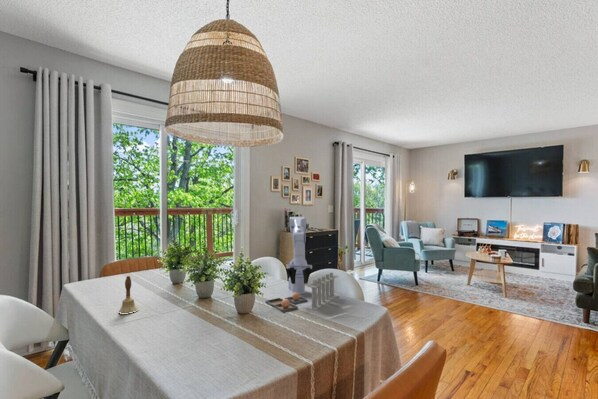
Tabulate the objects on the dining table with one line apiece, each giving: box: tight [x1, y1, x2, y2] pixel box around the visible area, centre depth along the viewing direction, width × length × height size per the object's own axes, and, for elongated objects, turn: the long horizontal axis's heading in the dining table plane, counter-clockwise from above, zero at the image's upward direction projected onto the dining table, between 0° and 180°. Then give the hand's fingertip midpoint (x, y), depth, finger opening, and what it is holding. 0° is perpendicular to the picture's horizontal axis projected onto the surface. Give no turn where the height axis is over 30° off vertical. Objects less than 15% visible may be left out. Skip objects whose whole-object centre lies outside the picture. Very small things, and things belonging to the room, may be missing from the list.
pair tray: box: [265, 297, 299, 313], centre depth 147 cm, size 16×8×2 cm, turn 35°
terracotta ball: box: [291, 292, 301, 301], centre depth 155 cm, size 4×4×4 cm
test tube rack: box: [307, 272, 339, 311], centre depth 153 cm, size 25×4×13 cm, turn 149°
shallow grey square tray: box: [284, 295, 308, 305], centre depth 155 cm, size 8×8×2 cm
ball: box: [281, 298, 290, 308], centre depth 144 cm, size 4×4×4 cm
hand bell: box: [118, 275, 139, 313], centre depth 141 cm, size 8×8×16 cm
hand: (299, 283), depth 153 cm, fingers open, 7 cm apart
